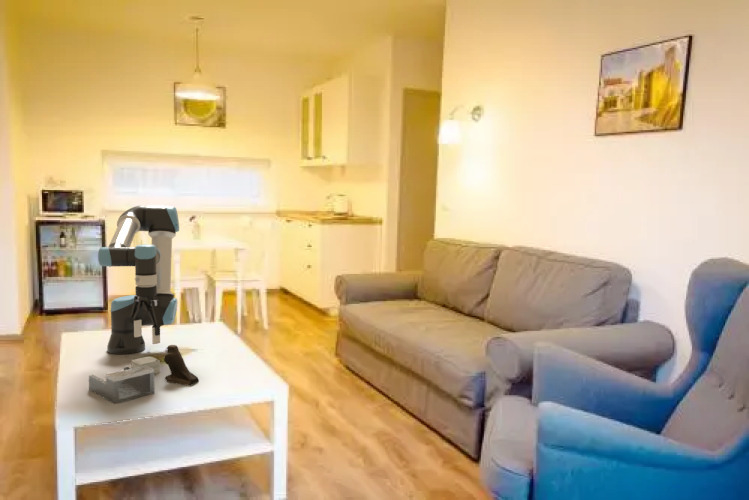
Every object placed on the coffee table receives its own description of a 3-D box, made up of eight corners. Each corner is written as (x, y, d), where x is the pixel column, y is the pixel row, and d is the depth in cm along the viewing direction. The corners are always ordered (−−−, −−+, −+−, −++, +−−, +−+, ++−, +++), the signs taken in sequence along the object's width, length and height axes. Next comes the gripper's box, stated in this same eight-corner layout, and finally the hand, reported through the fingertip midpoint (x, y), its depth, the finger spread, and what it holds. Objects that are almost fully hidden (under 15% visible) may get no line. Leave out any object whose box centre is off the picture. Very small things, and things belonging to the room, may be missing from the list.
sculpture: (171, 376, 219) (170, 343, 218) (199, 381, 215) (199, 346, 213) (160, 381, 214) (160, 346, 213) (189, 386, 209) (189, 350, 208)
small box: (131, 372, 223) (131, 359, 222) (150, 368, 228) (150, 355, 228) (140, 377, 217) (140, 364, 217) (160, 373, 223) (160, 360, 223)
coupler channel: (89, 389, 203) (88, 365, 202) (127, 380, 214) (127, 357, 213) (114, 403, 191) (113, 378, 190) (154, 393, 202) (153, 368, 201)
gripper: (120, 282, 224) (121, 335, 227) (154, 291, 208) (154, 348, 211) (138, 280, 230) (139, 332, 232) (173, 288, 214) (173, 344, 217)
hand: (146, 340), depth 222 cm, fingers open, 13 cm apart
